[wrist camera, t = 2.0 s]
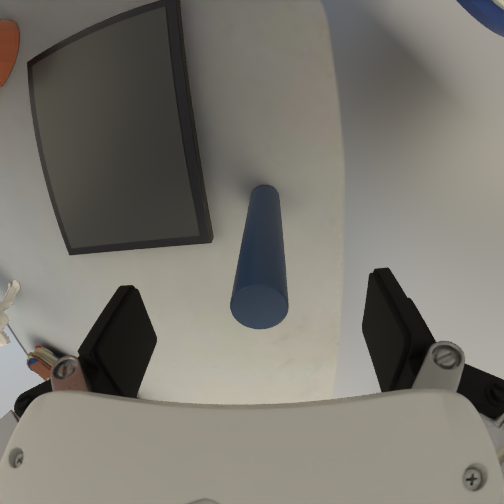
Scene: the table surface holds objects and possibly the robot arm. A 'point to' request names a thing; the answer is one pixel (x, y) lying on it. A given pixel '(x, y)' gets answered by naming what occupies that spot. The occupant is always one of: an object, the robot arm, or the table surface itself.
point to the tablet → (121, 134)
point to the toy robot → (0, 306)
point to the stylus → (261, 264)
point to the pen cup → (8, 47)
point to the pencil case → (42, 361)
